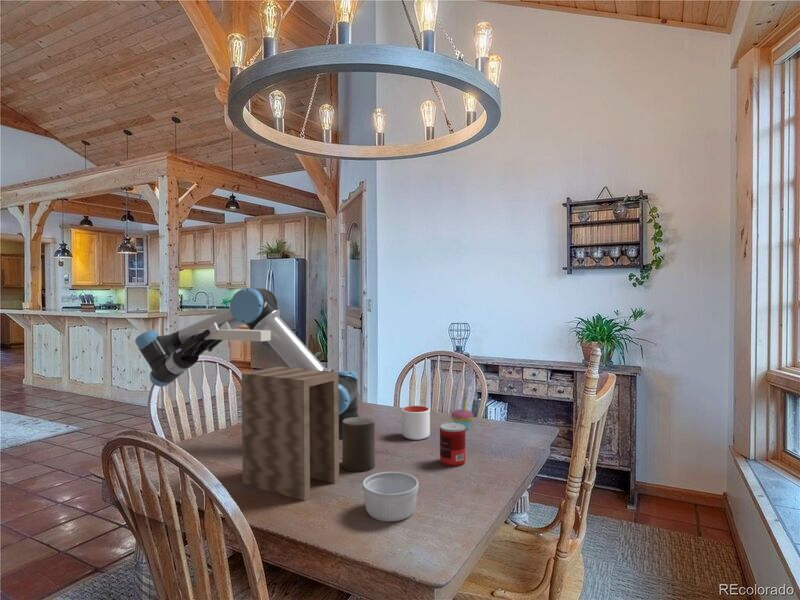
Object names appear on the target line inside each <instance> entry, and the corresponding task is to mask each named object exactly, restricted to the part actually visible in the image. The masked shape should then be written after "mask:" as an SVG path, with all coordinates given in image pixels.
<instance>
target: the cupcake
mask: <svg viewBox="0 0 800 600" xmlns="http://www.w3.org/2000/svg"><path fill="white" fill-rule="evenodd" d="M467 405H468V397H466V398H465V401H464V407H463V409H462V408H461V409H455V410H453V412H451V414H450V419H451V420H452V421H453V423H459V424H462V425H464V426H465V431H466V430H469V428H470V425H471V422H472V421H473V420H474V416H475V415H474V414H473V413H472V412H471V411H470V410H468V409H467Z"/></svg>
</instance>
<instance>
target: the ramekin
mask: <svg viewBox="0 0 800 600" xmlns="http://www.w3.org/2000/svg"><path fill="white" fill-rule="evenodd" d="M362 491H363V496H364V497H363V498H364V505H365V509H366V512H367V513H368V514H369V515H370V517H372V518H373V519H375V520H378V521H381V522H393V523H394V522H399V521H403V520H405V519H408V518H410V517H411V516H412V515H413V513H414V512H415V510H416V506H417V498H418V491H419V481H418V479H417V478H416V477H415V476H414V475H412V474H409V473H406V472H401V471H383V472H377V473H374V474H371V475H369V476H367V477H366V478H365V479H363V481H362Z"/></svg>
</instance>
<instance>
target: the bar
mask: <svg viewBox="0 0 800 600" xmlns="http://www.w3.org/2000/svg"><path fill="white" fill-rule="evenodd" d="M205 330H206V329H199V334H200V333H203V332H204V331H205ZM204 339H205V338H204ZM209 339H217V340H223V341H224V340H225V341H242V342H244V341H245V342H267V341H268V340H271V330H250V329H237V328H235V329H219V330H218V331H217V332H216V333H215V334H214V335H212V336H211V337H210V338H209Z"/></svg>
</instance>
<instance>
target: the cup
mask: <svg viewBox="0 0 800 600" xmlns="http://www.w3.org/2000/svg"><path fill="white" fill-rule="evenodd" d="M401 433H402V436H403V437H404V438H406V439H408V440H412V441H413V440H414V441H417V440H419V441H420V440H425V439H427V438H429V437H430V435H431V409H430V407H427V406H424V405H409V406H405V407H402V408H401Z"/></svg>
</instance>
